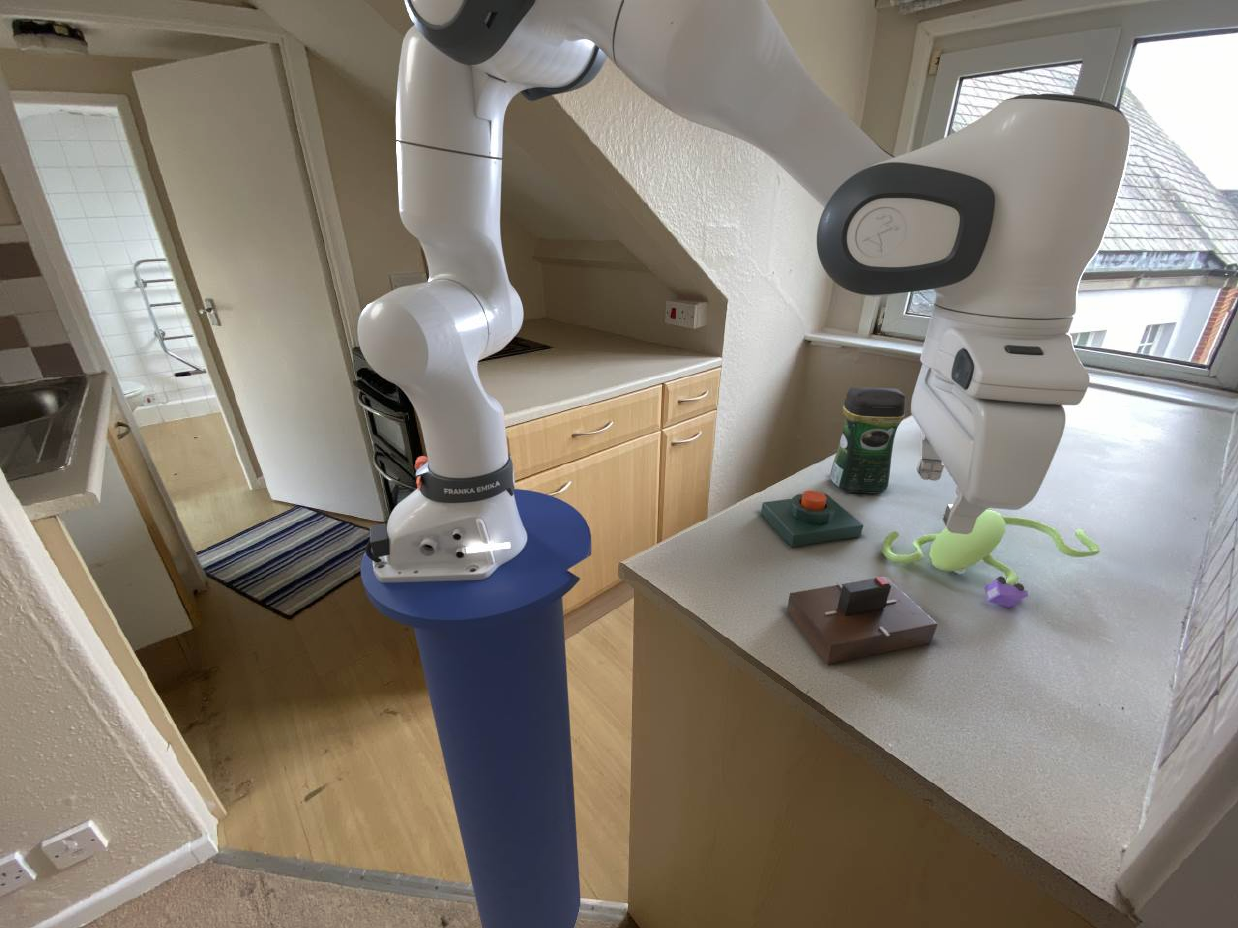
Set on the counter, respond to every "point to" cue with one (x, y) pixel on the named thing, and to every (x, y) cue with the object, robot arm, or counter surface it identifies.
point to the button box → (810, 521)
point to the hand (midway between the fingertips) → (940, 500)
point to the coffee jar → (867, 439)
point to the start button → (813, 500)
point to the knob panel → (858, 624)
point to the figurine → (984, 552)
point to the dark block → (864, 595)
